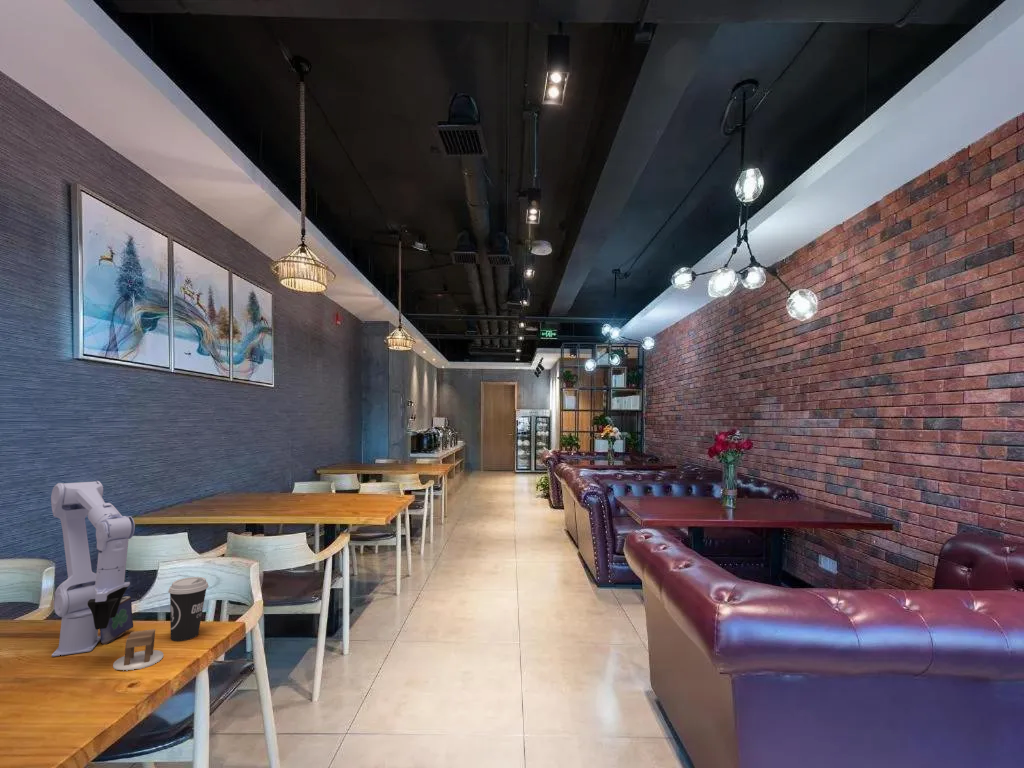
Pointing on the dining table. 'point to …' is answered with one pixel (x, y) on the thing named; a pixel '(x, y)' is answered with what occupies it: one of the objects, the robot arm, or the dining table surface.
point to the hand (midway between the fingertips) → (105, 622)
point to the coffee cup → (186, 607)
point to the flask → (118, 622)
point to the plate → (138, 661)
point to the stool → (139, 644)
